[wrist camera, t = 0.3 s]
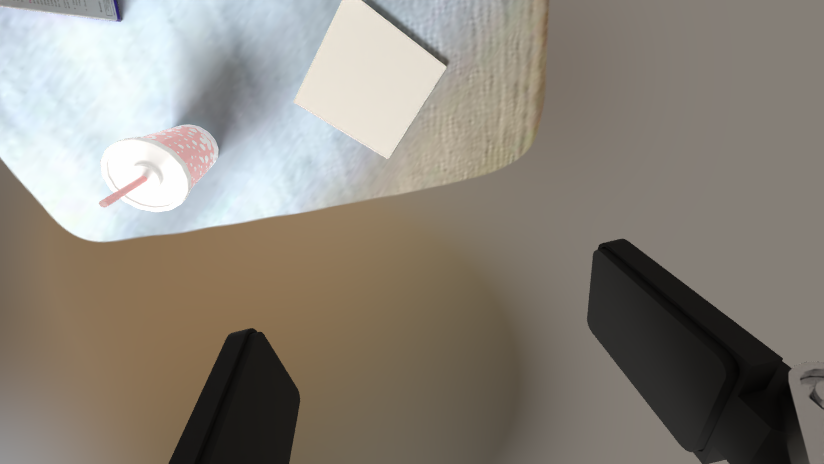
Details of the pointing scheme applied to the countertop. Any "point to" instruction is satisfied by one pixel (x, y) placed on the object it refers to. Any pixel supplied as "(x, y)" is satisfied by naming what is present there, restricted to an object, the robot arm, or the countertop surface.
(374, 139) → the plastic mat
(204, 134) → the beverage cup
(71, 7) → the supplement box
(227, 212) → the countertop surface
